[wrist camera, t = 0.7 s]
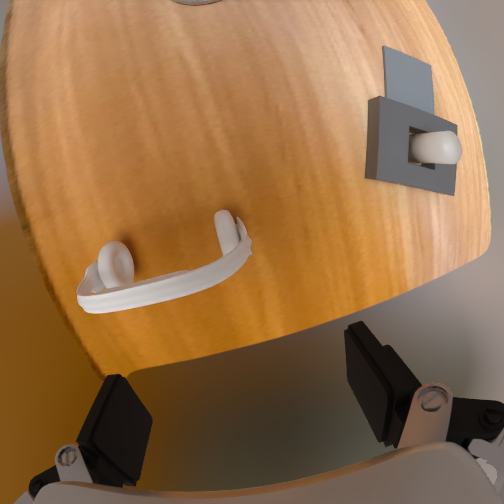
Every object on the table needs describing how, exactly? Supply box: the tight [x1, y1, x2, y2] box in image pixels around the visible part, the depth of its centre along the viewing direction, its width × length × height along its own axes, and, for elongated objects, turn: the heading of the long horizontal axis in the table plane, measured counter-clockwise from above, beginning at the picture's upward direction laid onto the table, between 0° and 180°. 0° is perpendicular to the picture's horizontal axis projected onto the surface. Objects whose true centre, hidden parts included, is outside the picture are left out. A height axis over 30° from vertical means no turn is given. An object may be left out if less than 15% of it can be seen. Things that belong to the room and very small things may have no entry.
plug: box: [408, 131, 462, 164], centre depth 31 cm, size 4×4×10 cm
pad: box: [382, 46, 434, 115], centre depth 32 cm, size 10×10×1 cm
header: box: [365, 96, 457, 196], centre depth 34 cm, size 12×16×4 cm
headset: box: [76, 210, 252, 313], centre depth 29 cm, size 20×7×18 cm, turn 103°
